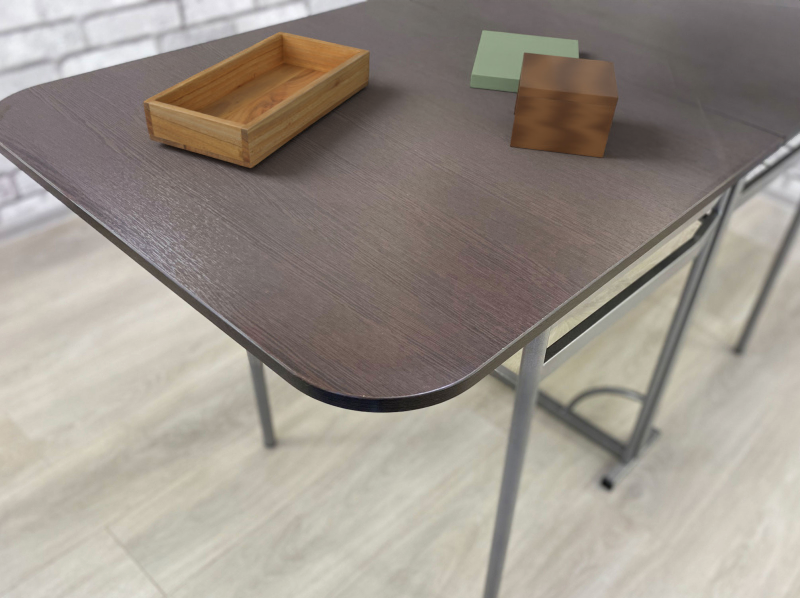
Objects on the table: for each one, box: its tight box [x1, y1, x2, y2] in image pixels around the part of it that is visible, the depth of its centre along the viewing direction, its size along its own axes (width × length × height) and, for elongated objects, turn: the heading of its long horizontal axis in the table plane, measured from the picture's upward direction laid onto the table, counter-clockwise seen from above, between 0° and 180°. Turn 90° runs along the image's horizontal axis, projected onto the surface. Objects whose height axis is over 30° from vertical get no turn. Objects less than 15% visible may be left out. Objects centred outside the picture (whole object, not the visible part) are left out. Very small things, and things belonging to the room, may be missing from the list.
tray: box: [142, 31, 371, 169], centre depth 96 cm, size 31×15×6 cm, turn 154°
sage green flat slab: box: [469, 29, 580, 94], centre depth 113 cm, size 16×20×2 cm
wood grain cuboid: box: [509, 52, 619, 158], centre depth 95 cm, size 12×12×8 cm
